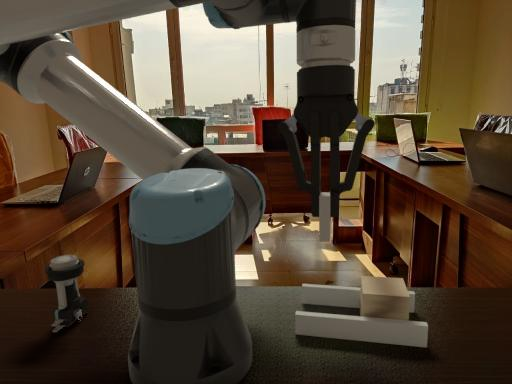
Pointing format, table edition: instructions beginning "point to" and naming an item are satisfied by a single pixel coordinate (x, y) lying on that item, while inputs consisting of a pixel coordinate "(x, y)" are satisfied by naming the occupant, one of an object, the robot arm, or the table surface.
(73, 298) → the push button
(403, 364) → the table surface
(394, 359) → the table surface
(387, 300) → the maple block
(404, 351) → the table surface
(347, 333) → the channel
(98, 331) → the table surface
